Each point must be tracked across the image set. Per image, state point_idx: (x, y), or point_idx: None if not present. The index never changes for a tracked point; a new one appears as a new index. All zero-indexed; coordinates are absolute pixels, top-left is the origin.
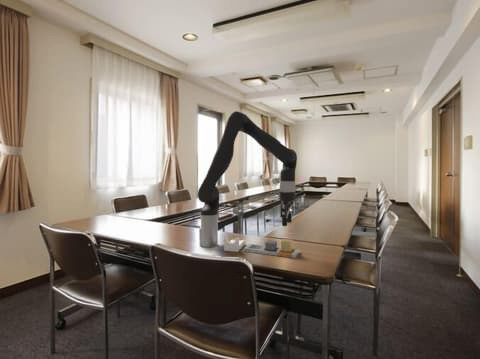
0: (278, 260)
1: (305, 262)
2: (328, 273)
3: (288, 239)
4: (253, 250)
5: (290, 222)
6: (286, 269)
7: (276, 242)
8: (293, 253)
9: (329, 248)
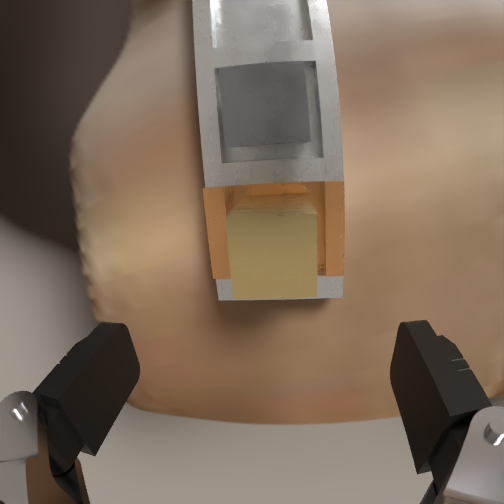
0: (175, 203)
1: (220, 335)
2: (156, 408)
3: (311, 261)
4: (194, 18)
5: (392, 370)
6: (94, 278)
7: (297, 142)
8: None
9: None
